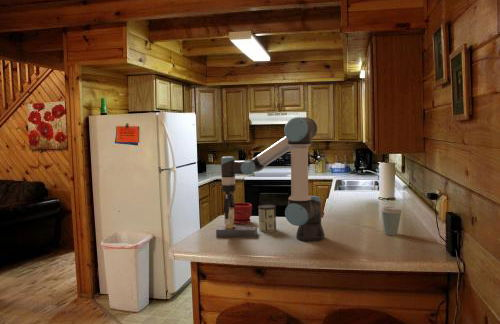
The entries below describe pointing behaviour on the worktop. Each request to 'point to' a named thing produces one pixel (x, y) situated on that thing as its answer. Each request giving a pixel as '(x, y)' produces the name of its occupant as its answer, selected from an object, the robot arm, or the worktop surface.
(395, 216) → the disposable coffee cup
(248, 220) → the plant pot
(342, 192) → the worktop surface
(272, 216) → the coffee can
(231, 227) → the brass peg
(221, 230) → the grey flat block
